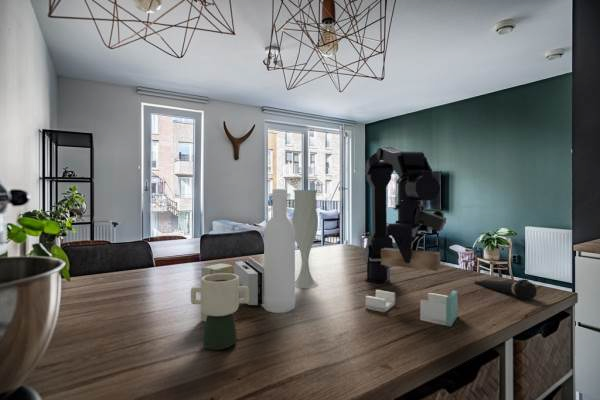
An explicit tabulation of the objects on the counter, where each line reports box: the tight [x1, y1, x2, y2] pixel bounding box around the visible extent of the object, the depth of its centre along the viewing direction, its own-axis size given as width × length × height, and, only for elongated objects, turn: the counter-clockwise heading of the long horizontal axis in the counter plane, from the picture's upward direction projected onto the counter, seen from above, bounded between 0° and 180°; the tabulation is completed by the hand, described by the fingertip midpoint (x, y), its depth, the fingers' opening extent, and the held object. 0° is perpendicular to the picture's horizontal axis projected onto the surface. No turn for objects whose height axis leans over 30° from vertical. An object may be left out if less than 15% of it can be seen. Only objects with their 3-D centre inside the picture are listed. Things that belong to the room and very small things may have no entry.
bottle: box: [263, 188, 296, 314], centre depth 85 cm, size 8×8×30 cm
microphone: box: [474, 279, 537, 301], centre depth 100 cm, size 6×6×20 cm
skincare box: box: [200, 262, 234, 323], centre depth 78 cm, size 6×4×12 cm
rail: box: [381, 248, 441, 272], centre depth 86 cm, size 14×4×4 cm, turn 56°
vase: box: [292, 189, 319, 289], centre depth 107 cm, size 9×8×30 cm
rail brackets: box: [364, 289, 459, 327], centre depth 82 cm, size 20×8×6 cm, turn 55°
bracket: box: [234, 256, 264, 306], centre depth 92 cm, size 17×5×10 cm, turn 23°
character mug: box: [190, 273, 249, 351], centre depth 64 cm, size 11×7×13 cm, turn 94°
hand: (409, 261), depth 86 cm, fingers closed on rail, 3 cm apart
